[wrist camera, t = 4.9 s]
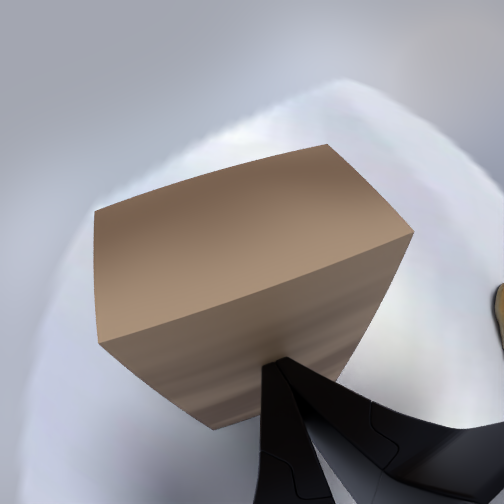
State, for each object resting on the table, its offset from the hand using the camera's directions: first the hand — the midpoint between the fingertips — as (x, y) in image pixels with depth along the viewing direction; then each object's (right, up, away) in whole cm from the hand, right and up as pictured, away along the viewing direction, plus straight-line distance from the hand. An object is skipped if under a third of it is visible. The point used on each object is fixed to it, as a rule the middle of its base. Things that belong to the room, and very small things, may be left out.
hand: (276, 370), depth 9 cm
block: (0, -3, +7) cm, 8 cm away
